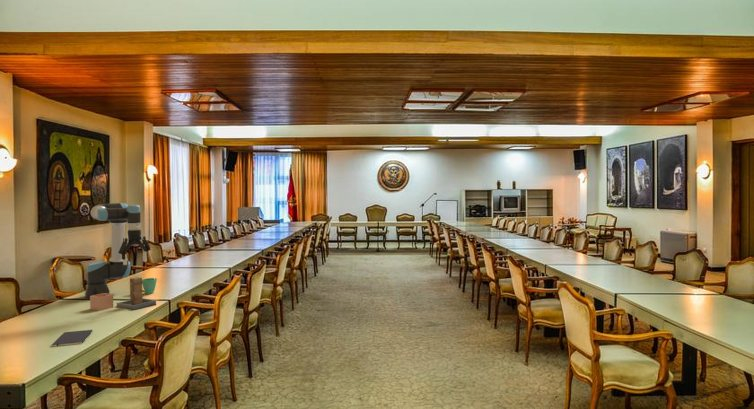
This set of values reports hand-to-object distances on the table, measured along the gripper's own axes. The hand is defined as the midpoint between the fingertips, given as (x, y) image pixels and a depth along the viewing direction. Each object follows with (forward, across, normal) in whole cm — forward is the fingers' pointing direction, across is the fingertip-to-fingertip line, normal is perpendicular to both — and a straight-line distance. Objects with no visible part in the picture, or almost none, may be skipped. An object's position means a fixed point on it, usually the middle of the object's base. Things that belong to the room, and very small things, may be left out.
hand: (135, 263), depth 307 cm
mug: (+28, +28, +30) cm, 49 cm away
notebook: (+28, -57, -34) cm, 72 cm away
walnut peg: (+26, 0, 0) cm, 26 cm away
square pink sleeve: (+28, -15, +12) cm, 33 cm away
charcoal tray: (+27, 0, 0) cm, 27 cm away
